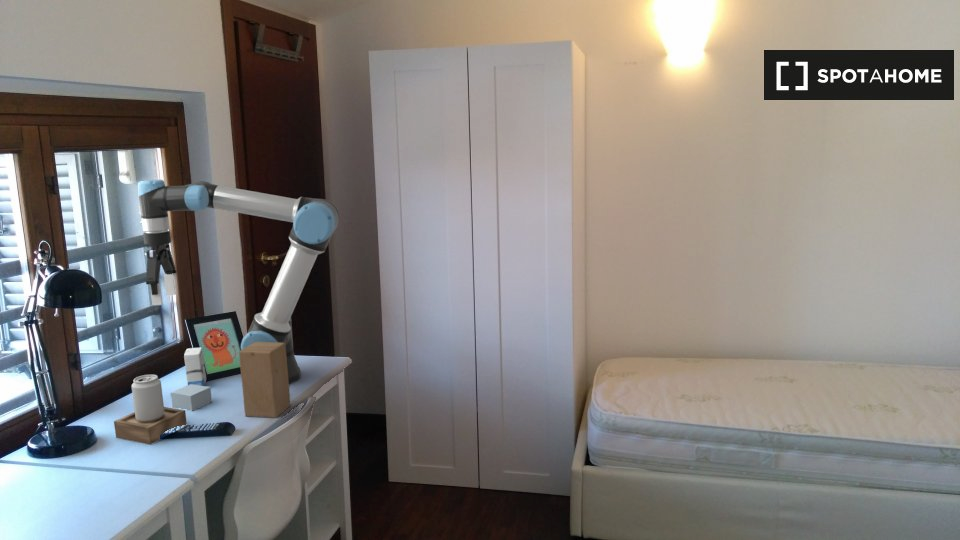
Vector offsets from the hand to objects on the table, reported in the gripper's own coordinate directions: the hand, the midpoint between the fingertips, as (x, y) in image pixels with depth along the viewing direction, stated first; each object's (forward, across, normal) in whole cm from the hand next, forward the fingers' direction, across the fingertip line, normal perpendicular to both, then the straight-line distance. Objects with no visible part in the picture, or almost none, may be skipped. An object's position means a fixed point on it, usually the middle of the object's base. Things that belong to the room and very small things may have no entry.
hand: (164, 299), depth 231 cm
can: (+28, +27, +2) cm, 39 cm away
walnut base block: (+32, +27, +2) cm, 42 cm away
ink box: (+32, -10, +4) cm, 34 cm away
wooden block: (+32, +17, +32) cm, 48 cm away
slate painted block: (+32, +8, +7) cm, 34 cm away
